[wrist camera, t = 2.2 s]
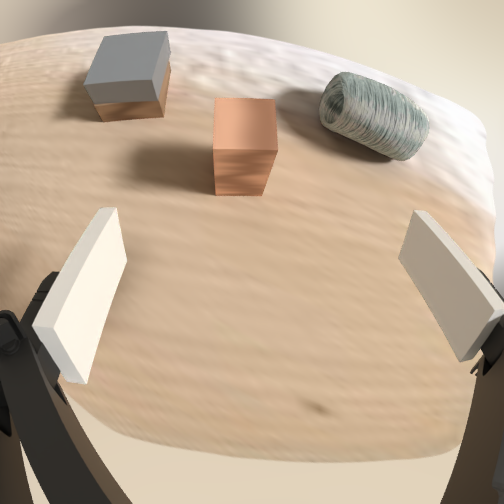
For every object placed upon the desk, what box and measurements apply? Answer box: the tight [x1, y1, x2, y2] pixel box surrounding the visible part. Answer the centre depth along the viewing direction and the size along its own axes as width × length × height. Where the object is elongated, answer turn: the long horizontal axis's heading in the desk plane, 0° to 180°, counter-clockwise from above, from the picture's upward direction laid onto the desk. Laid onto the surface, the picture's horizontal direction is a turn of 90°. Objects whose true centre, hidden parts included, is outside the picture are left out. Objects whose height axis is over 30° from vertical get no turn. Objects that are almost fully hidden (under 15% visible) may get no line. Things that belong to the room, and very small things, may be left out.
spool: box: [319, 72, 429, 161], centre depth 34 cm, size 14×10×10 cm
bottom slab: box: [94, 61, 171, 122], centre depth 34 cm, size 8×8×4 cm
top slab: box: [83, 31, 171, 104], centre depth 30 cm, size 8×8×4 cm
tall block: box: [213, 98, 278, 196], centre depth 30 cm, size 5×5×11 cm
